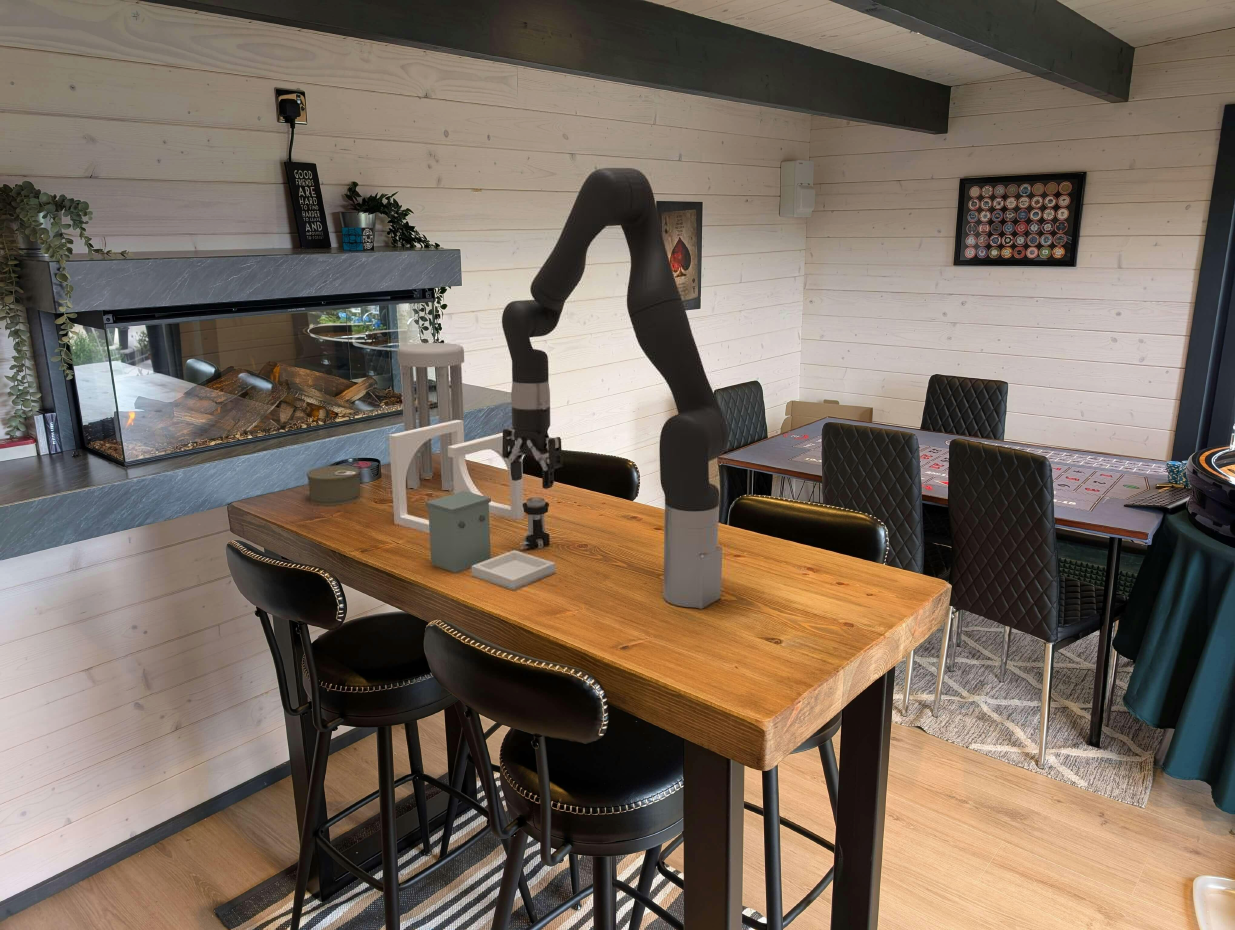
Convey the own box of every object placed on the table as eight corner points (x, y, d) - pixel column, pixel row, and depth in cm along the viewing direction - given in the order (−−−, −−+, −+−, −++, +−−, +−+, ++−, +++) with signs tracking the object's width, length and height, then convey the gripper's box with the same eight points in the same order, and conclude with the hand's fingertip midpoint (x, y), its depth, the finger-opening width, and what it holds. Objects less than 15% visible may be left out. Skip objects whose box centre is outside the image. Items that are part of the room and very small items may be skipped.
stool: (396, 490, 218) (387, 349, 209) (420, 474, 233) (412, 342, 224) (456, 494, 216) (449, 351, 207) (476, 477, 230) (471, 343, 222)
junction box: (493, 559, 172) (490, 498, 169) (455, 573, 165) (452, 509, 162) (466, 551, 177) (464, 490, 174) (429, 564, 170) (425, 501, 166)
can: (325, 491, 218) (323, 464, 217) (370, 493, 216) (368, 466, 214) (299, 505, 207) (296, 476, 205) (346, 508, 205) (344, 479, 203)
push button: (527, 554, 175) (526, 506, 172) (513, 547, 179) (511, 500, 176) (555, 547, 179) (554, 500, 177) (540, 540, 183) (539, 494, 181)
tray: (555, 573, 165) (555, 563, 165) (513, 590, 157) (513, 580, 157) (514, 559, 172) (514, 550, 172) (471, 575, 164) (471, 565, 163)
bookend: (523, 517, 198) (521, 430, 193) (458, 542, 182) (454, 448, 177) (460, 502, 209) (457, 419, 204) (394, 523, 194) (388, 435, 189)
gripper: (491, 402, 173) (493, 481, 177) (543, 411, 164) (545, 494, 168) (518, 396, 179) (520, 473, 183) (570, 405, 170) (571, 486, 174)
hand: (532, 483), depth 176 cm, fingers open, 8 cm apart
